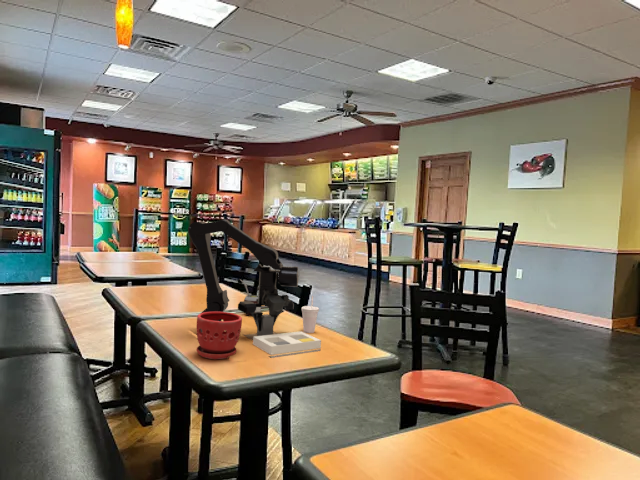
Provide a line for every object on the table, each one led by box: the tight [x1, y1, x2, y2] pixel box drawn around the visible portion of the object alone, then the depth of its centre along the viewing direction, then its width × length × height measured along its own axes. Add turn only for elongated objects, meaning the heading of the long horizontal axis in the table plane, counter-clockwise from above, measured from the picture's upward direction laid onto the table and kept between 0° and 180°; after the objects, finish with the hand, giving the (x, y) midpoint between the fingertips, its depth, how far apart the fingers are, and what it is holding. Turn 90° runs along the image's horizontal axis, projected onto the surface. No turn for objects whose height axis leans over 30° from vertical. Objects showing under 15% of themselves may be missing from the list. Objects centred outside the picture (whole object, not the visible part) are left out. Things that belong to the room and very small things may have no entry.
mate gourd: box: [239, 279, 258, 317], centre depth 196 cm, size 8×8×15 cm
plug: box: [256, 313, 275, 336], centre depth 161 cm, size 4×4×7 cm
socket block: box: [252, 330, 322, 359], centre depth 151 cm, size 18×12×4 cm, turn 125°
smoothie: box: [301, 295, 320, 334], centre depth 171 cm, size 6×6×14 cm
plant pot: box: [196, 311, 243, 360], centre depth 141 cm, size 13×13×12 cm
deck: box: [243, 331, 279, 341], centre depth 161 cm, size 12×9×1 cm
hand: (265, 330), depth 161 cm, fingers closed on plug, 4 cm apart
